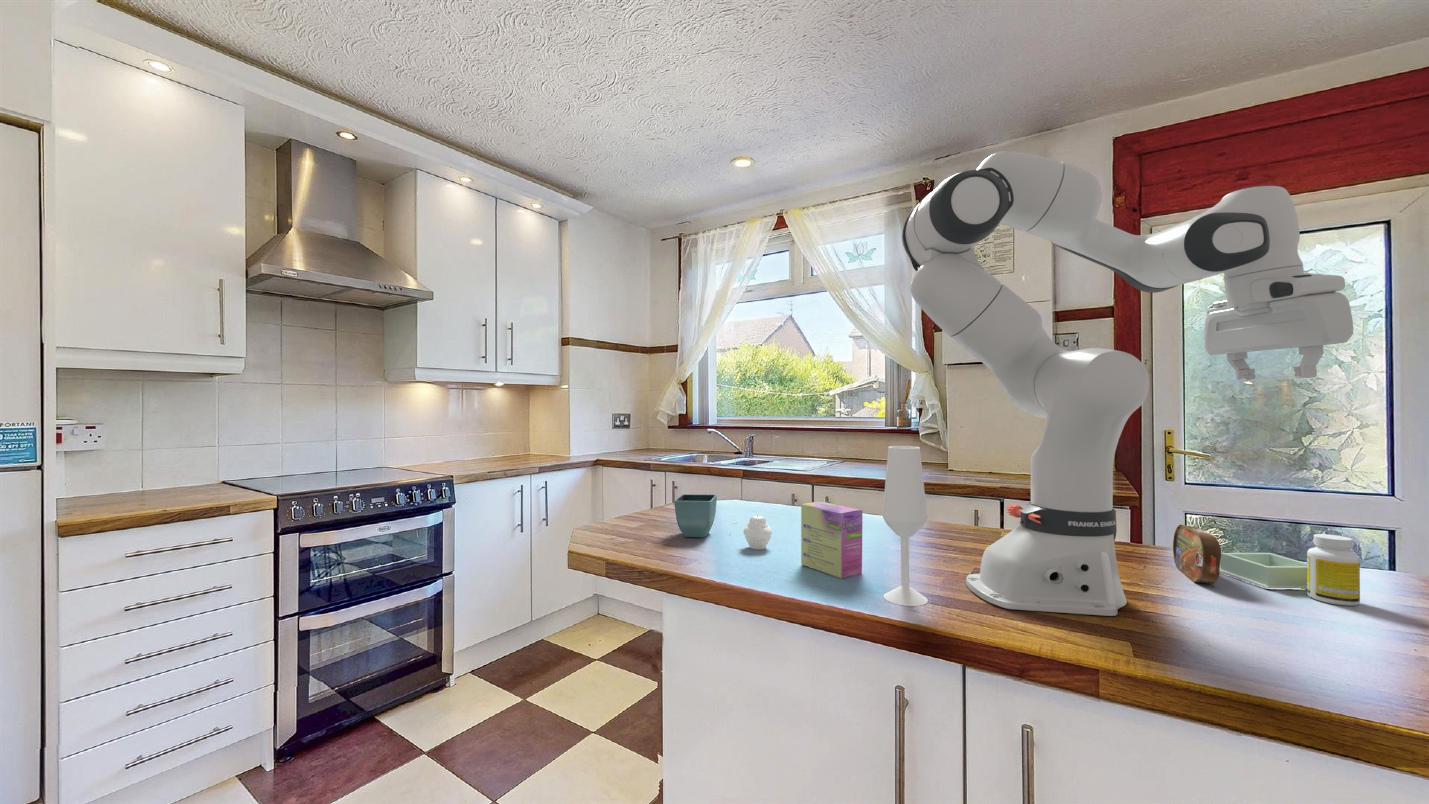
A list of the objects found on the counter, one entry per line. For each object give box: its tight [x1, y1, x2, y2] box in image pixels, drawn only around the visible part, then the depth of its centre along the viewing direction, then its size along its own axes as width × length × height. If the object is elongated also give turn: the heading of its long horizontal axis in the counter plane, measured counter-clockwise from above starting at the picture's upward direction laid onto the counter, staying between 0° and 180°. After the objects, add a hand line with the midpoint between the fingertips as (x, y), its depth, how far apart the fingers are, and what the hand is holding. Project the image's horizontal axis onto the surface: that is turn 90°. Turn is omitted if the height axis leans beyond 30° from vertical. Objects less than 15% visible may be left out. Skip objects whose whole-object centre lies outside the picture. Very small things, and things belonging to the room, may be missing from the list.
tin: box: [1172, 523, 1222, 585], centre depth 96 cm, size 15×3×8 cm, turn 154°
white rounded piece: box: [743, 514, 773, 551], centre depth 117 cm, size 6×6×7 cm
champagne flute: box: [882, 445, 929, 607], centre depth 87 cm, size 7×7×24 cm
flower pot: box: [673, 493, 718, 539], centre depth 129 cm, size 9×9×9 cm
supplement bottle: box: [1306, 533, 1361, 607], centre depth 84 cm, size 5×5×10 cm
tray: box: [1219, 552, 1307, 589], centre depth 93 cm, size 9×9×4 cm
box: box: [800, 500, 863, 580], centre depth 102 cm, size 10×6×12 cm, turn 34°
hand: (1274, 378), depth 86 cm, fingers open, 8 cm apart
